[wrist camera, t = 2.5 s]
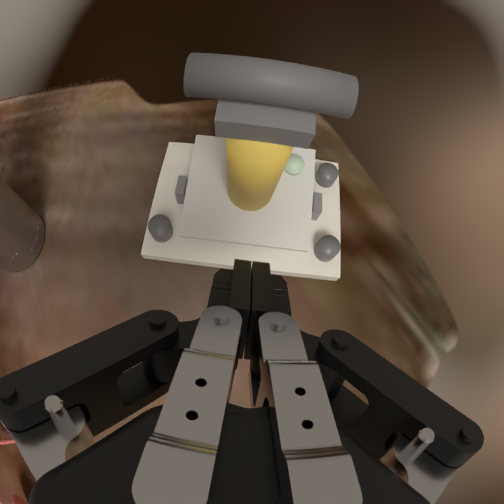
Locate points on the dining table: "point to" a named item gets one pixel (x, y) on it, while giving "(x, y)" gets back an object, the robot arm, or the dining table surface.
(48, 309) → the dining table surface
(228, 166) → the yellow column stand
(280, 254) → the base
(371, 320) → the dining table surface
